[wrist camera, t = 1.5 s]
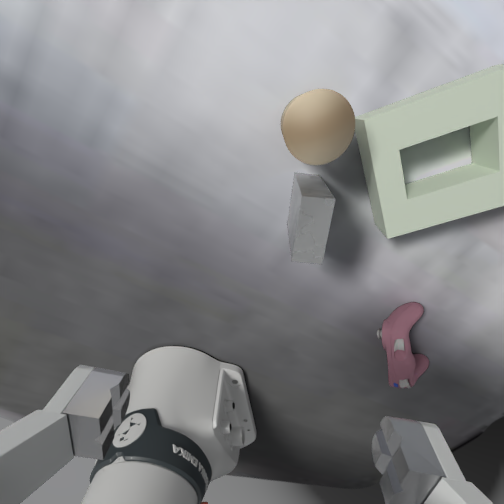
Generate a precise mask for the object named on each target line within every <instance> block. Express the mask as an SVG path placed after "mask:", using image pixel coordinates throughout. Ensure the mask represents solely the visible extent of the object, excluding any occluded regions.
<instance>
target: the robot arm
mask: <svg viewBox="0 0 504 504" xmlns="http://www.w3.org/2000/svg"><path fill="white" fill-rule="evenodd" d="M129 382H130V384H129V386H128V387H127V385H128V383H129ZM126 387H127V388H126ZM380 424H381V428H382V429H381V430H379V431H377V432H376V433H375V435H374V437H373V439H372V456H373V460H374V464H375V466H376V468H377V469H378V470H379V471H380V473H381V474H382V476H381V479H380V481H379V482H380V486H381V490H382V493H383V496H384V500H385V504H493V503H492V502H491V501H490V500H489V499H488V498H487V497H486V496H485V495H484V494H483V493H482V492H481V491H480V490H479V489H478V488H477V487H476V486H475V485H474V484H473V483H472V482H468V481H466V480H465V478H464V476H463V474H462V472H461V470H460V468H459V466H458V464H457V462H456V460H455V459H454V456H453V455H452V453H451V451H450V449H449V447H448V445H447V443H446V441H445V439H444V437H443V435H442V433H441V431H440V429H439V428H438V427H437V426H436V425H435V424H431V423H425V422H419V421H416V420H409V419H402V418H396V417H389V416H386V417H384V418H383V419H382V421H381V423H380ZM256 434H257V432H256V427H255V423H254V418H253V414H252V409H251V405H250V401H249V396H248V392H247V388H246V383H245V379H244V375H243V371H242V369H241V368H240V367H238V366H236V365H233V364H229V363H224V362H220V361H218V360H216V359H214V358H212V357H210V356H209V355H207V354H205V353H203V352H200V351H198V350H195V349H191V348H187V347H180V346H167V347H161V348H157V349H154V350H151V351H149V352H147V353H145V354H144V355H143V356H141V357H140V358H139V359H138V361H137V362H136V364H135V366H134V368H133V372H132V377H131V381H129V374H127V373H122V372H117V371H112V370H107V369H102V368H97V367H91V366H85V365H79V366H78V367H77V368H75V369H74V371H73V372H72V373H71V374H70V376H69V377H68V378H67V380H66V381H65V382H64V383H63V385H62V386H61V387H60V389H59V390H58V391H57V392H56V394H55V395H54V396H53V398H52V399H51V400H50V401H49V403H48V404H47V405H46V407H45V408H44V409H43V410H36V411H34V412H32V413H31V414H29V415H27V416H25V417H24V418H22V419H20V420H18V421H17V422H15V423H13V424H11V425H10V426H8V427H6V428H4V429H3V430H1V431H0V504H20V503H21V502H23V501H24V500H25V499H26V498H27V497H28V496H30V495H31V494H32V493H33V492H34V491H35V490H37V489H38V488H39V487H40V486H41V485H43V484H44V483H45V482H46V481H47V480H48V479H50V478H51V477H52V476H53V475H54V474H55V473H57V472H58V471H59V470H60V469H61V468H62V467H64V466H65V465H66V464H67V463H68V462H69V461H71V460H72V459H73V458H74V456H78V457H85V458H93V459H97V460H96V462H95V465H94V468H93V471H92V473H91V476H90V486H89V488H88V490H87V492H86V494H85V496H84V499H83V501H82V503H81V504H208V502H202V499H203V497H204V495H205V492H206V490H207V488H208V485H209V483H210V482H211V481H213V480H215V479H217V478H220V477H221V476H224V475H226V474H228V473H229V472H231V471H232V470H233V469H234V468H235V467H236V465H237V463H238V458H239V451H240V449H241V448H243V447H245V446H247V445H249V444H251V443H252V442H253V441H254V440H255V439H256Z"/></svg>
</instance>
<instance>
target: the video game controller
mask: <svg viewBox="0 0 504 504" xmlns="http://www.w3.org/2000/svg"><path fill="white" fill-rule="evenodd" d="M423 312H424V308H423V306H422V305H421V304H419V303H416V302H410V303H406V304H404V305H402V306H400V307H398V308H397V309H395V310H394V311H393V312H392V313H391V314H390V316H389V317H388V318H387V319H385V320H384V322H383V326H382V330H381V329H380V328H379V329H378V331H377V336H378V338H379V339H380V338H382V344H383V348H384V350H386V352H387V362H388V379H389V385H390V386H391V387H397V388H410V387H412V386H414V384H415V382H416V381H417V379H418V378H419V377H420V376H421V375H422V374H423V373H424V372H425V371H426V370H427V368H428V366H429V360H428V358H427V357H426V356H425V355H422V354H414V355H413V354H412V352H411V345H410V339H409V331H410V330H411V328H412V326H413V325H414V324H415V323H416V322H417V321H418V319H419V318H420V317H421V316H422V314H423Z"/></svg>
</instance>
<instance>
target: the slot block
mask: <svg viewBox="0 0 504 504" xmlns="http://www.w3.org/2000/svg"><path fill="white" fill-rule="evenodd" d="M468 126H470V141H471V155H472V163H471V164H468V165H465V166H462V167H459V168H455V169H452V170H449V171H446V172H443V173H440V174H437V175H433V176H430V177H427V178H424V179H421V180H418V181H414V182H411V183H408V184H405V183H404V177H403V170H402V164H401V158H400V152H399V150H400V149H403V148H406V147H409V146H412V145H415V144H418V143H421V142H424V141H427V140H430V139H433V138H436V137H439V136H442V135H444V134H447V133H450V132H453V131H456V130H459V129H462V128H465V127H468ZM355 132H356V137H357V142H358V146H359V151H360V156H361V160H362V165H363V170H364V175H365V179H366V184H367V189H368V194H369V198H370V203H371V208H372V213H373V217H374V222H375V225H376V226H377V227H378V228H379V230H380V231H381V232H382V233H383V234H384V235H385V237H386V238H387V239H389V238H393V237H396V236H400V235H403V234H407V233H410V232H414V231H417V230H421V229H424V228H428V227H431V226H435V225H438V224H442V223H445V222H449V221H452V220H456V219H459V218H463V217H466V216H470V215H473V214H477V213H480V212H484V211H487V210H491V209H494V208H498V207H501V206H504V64H501V65H495V66H492V67H489V68H487V69H484V70H481V71H479V72H476V73H473V74H471V75H468V76H465V77H462V78H460V79H457V80H454V81H452V82H449V83H446V84H444V85H441V86H438V87H436V88H433V89H430V90H427V91H425V92H422V93H419V94H417V95H414V96H411V97H409V98H406V99H403V100H400V101H398V102H395V103H392V104H390V105H387V106H384V107H382V108H379V109H376V110H373V111H371V112H368V113H365V114H363V115H360V116H357V117H355Z"/></svg>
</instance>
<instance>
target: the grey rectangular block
mask: <svg viewBox="0 0 504 504" xmlns="http://www.w3.org/2000/svg"><path fill="white" fill-rule="evenodd" d="M335 200H336V199H335V198H334V196H333V195H332V193H331V192H330V190H329V189H328V187H327V186H326V184H325V183H324V181H323V180H322V178H321V177H320V175H315V174H305V173H295V172H294V179H293V186H292V193H291V199H290V206H289V213H288V220H287V228H288V236H289V245H290V253H291V262H300V263H310V264H319V265H322V262H323V257H324V253H325V248H326V243H327V238H328V234H329V229H330V224H331V219H332V214H333V210H334V205H335Z"/></svg>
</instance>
